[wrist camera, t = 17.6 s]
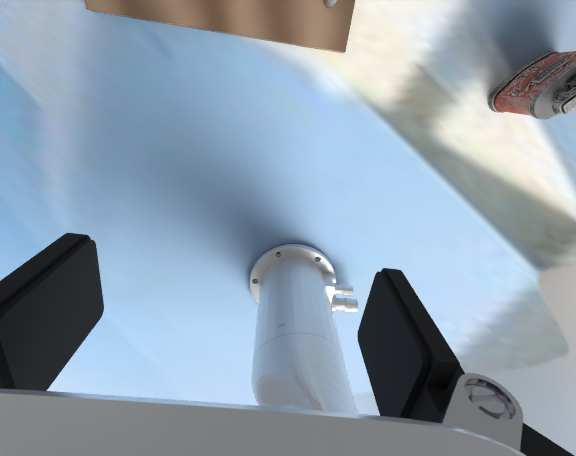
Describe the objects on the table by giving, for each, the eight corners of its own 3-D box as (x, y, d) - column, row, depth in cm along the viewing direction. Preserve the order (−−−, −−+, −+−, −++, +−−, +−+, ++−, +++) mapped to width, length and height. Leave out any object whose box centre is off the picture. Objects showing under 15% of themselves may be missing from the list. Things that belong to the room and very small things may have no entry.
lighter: (550, 43, 35) (646, 31, 26) (562, 70, 36) (657, 67, 27) (482, 95, 37) (549, 101, 28) (495, 119, 38) (563, 131, 29)
